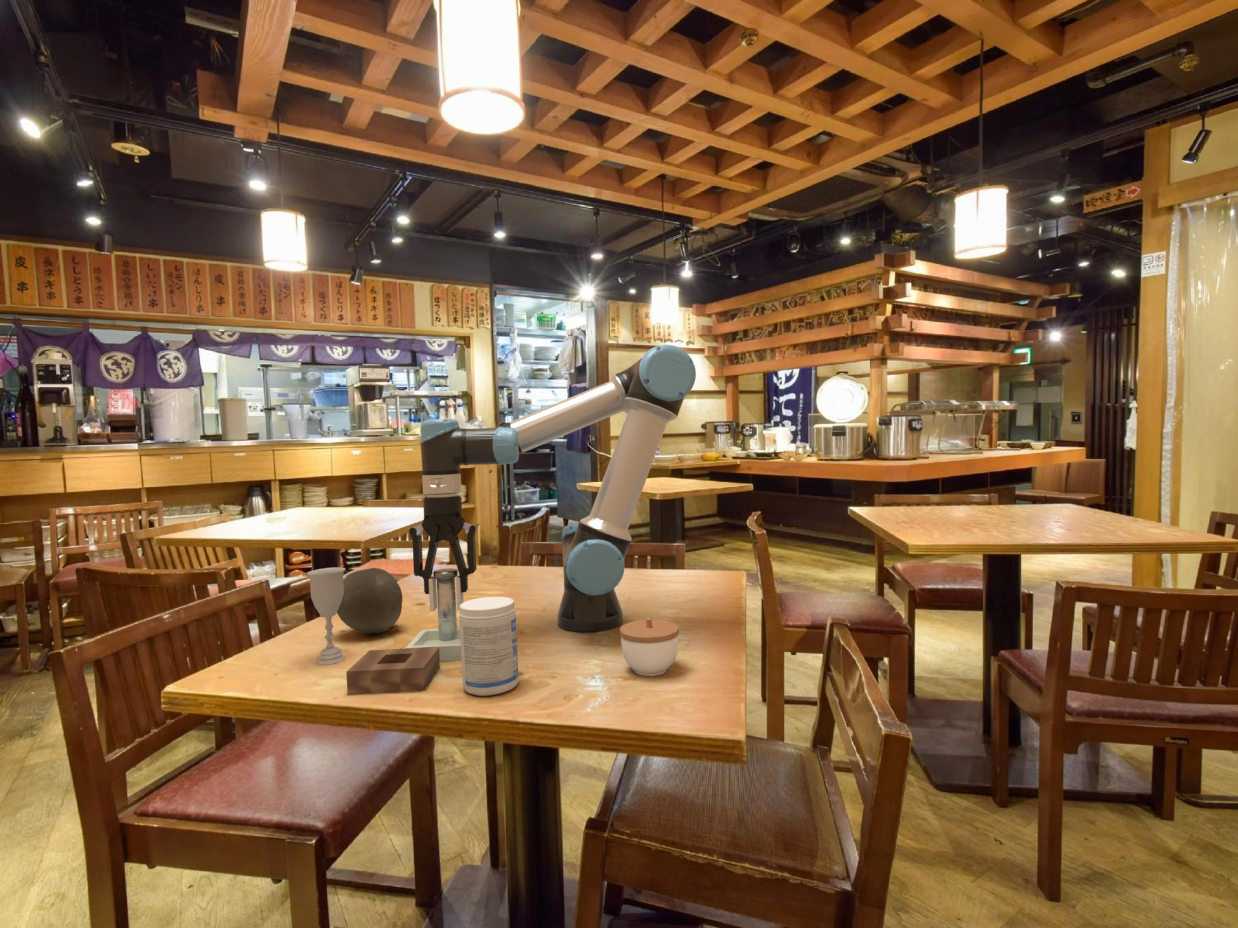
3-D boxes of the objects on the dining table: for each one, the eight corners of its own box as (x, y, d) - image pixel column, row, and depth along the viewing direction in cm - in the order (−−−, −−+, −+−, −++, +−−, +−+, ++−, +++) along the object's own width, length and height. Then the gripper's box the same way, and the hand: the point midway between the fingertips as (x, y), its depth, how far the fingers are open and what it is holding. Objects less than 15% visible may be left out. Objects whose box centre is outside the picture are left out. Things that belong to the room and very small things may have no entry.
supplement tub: (528, 688, 105) (524, 602, 105) (475, 702, 100) (471, 613, 100) (504, 672, 113) (501, 593, 113) (454, 685, 108) (450, 601, 108)
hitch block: (440, 667, 117) (439, 646, 117) (424, 690, 106) (423, 667, 106) (370, 671, 116) (369, 650, 116) (347, 694, 105) (346, 671, 105)
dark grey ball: (372, 622, 150) (369, 561, 149) (417, 628, 144) (414, 564, 143) (322, 640, 137) (319, 573, 137) (369, 647, 131) (365, 577, 131)
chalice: (333, 667, 119) (329, 575, 119) (302, 666, 120) (298, 574, 120) (357, 654, 126) (353, 567, 126) (327, 653, 128) (323, 567, 127)
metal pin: (462, 634, 129) (459, 567, 128) (457, 641, 124) (454, 572, 124) (439, 635, 129) (436, 568, 128) (433, 642, 124) (430, 573, 123)
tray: (488, 640, 133) (487, 626, 133) (477, 659, 121) (477, 644, 121) (422, 643, 132) (421, 629, 132) (405, 663, 120) (404, 647, 120)
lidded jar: (611, 665, 115) (610, 616, 115) (662, 656, 119) (661, 608, 119) (636, 685, 105) (635, 630, 105) (691, 673, 109) (689, 621, 109)
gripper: (392, 498, 121) (397, 615, 122) (483, 495, 122) (487, 611, 123) (403, 495, 129) (408, 605, 129) (489, 492, 130) (493, 602, 130)
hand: (447, 608), depth 126 cm, fingers closed on metal pin, 5 cm apart
